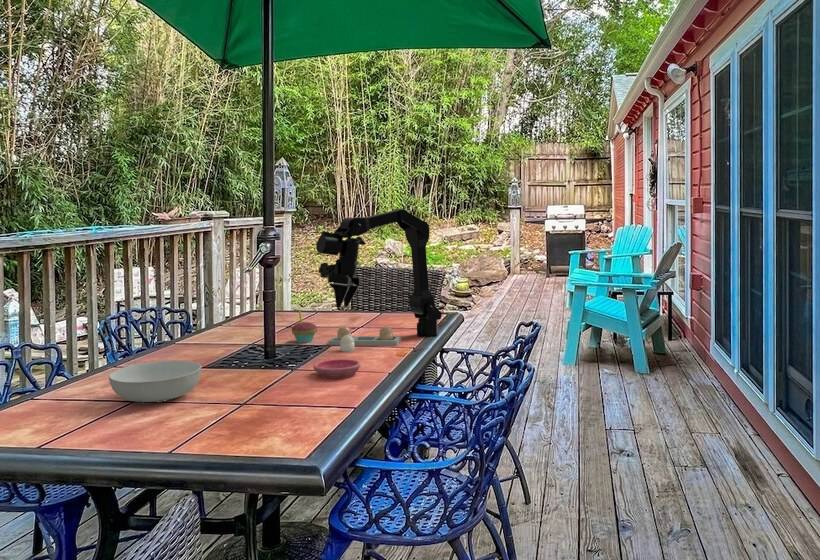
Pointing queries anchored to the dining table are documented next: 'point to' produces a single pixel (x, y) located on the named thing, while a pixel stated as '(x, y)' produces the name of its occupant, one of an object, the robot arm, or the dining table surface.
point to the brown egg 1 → (343, 332)
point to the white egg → (347, 344)
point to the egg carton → (369, 341)
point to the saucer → (337, 368)
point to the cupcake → (304, 331)
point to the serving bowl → (155, 380)
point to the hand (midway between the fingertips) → (342, 307)
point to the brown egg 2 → (386, 333)
